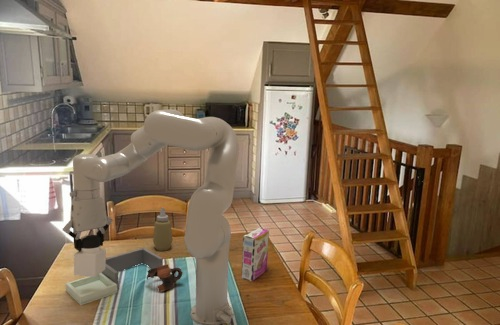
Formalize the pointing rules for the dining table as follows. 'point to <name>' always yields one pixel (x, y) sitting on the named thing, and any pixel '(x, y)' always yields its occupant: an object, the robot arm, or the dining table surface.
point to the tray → (91, 288)
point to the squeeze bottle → (162, 232)
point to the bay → (130, 262)
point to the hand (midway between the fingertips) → (89, 246)
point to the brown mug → (165, 276)
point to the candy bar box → (255, 254)
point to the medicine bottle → (90, 257)
